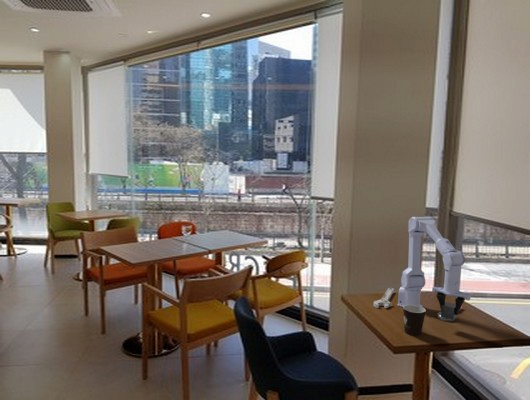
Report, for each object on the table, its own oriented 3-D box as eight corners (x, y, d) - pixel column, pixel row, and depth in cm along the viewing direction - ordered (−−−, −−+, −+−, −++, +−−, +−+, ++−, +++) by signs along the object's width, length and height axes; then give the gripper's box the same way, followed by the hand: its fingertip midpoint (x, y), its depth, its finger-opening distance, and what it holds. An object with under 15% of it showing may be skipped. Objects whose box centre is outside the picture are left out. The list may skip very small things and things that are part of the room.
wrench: (399, 289, 219) (389, 306, 192) (399, 292, 219) (389, 310, 192) (383, 286, 222) (372, 303, 195) (383, 289, 222) (372, 307, 195)
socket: (440, 316, 171) (441, 304, 171) (445, 313, 175) (445, 301, 175) (453, 319, 168) (454, 308, 168) (457, 316, 172) (458, 304, 171)
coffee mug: (424, 338, 163) (425, 314, 162) (401, 334, 166) (402, 310, 165) (424, 327, 174) (425, 304, 173) (402, 324, 177) (403, 301, 176)
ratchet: (434, 318, 184) (435, 308, 184) (451, 306, 200) (452, 296, 200) (451, 323, 179) (452, 312, 179) (467, 310, 195) (468, 300, 195)
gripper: (430, 278, 172) (428, 310, 173) (467, 286, 162) (465, 320, 164) (436, 275, 177) (434, 306, 179) (473, 283, 167) (470, 315, 169)
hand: (449, 312), depth 171 cm, fingers closed on socket, 5 cm apart
